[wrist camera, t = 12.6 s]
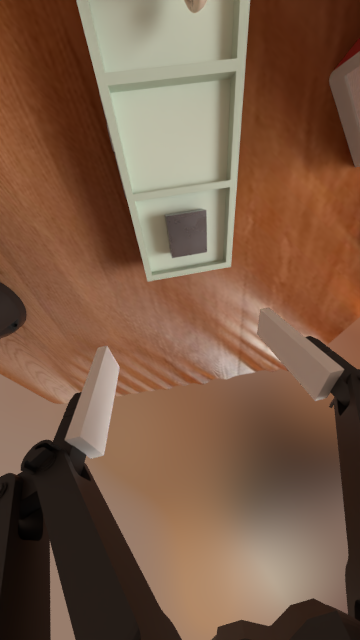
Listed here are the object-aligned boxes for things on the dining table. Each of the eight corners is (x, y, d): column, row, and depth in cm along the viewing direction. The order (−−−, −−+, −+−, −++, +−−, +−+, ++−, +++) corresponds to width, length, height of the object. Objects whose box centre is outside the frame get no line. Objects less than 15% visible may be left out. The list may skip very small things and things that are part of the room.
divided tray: (147, 275, 33) (147, 281, 31) (-3, -329, 10) (-46, -477, 8) (225, 262, 34) (230, 266, 32) (255, -325, 11) (283, -458, 9)
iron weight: (170, 253, 30) (172, 258, 28) (164, 214, 27) (166, 216, 24) (202, 247, 30) (207, 252, 28) (201, 208, 27) (206, 210, 24)
